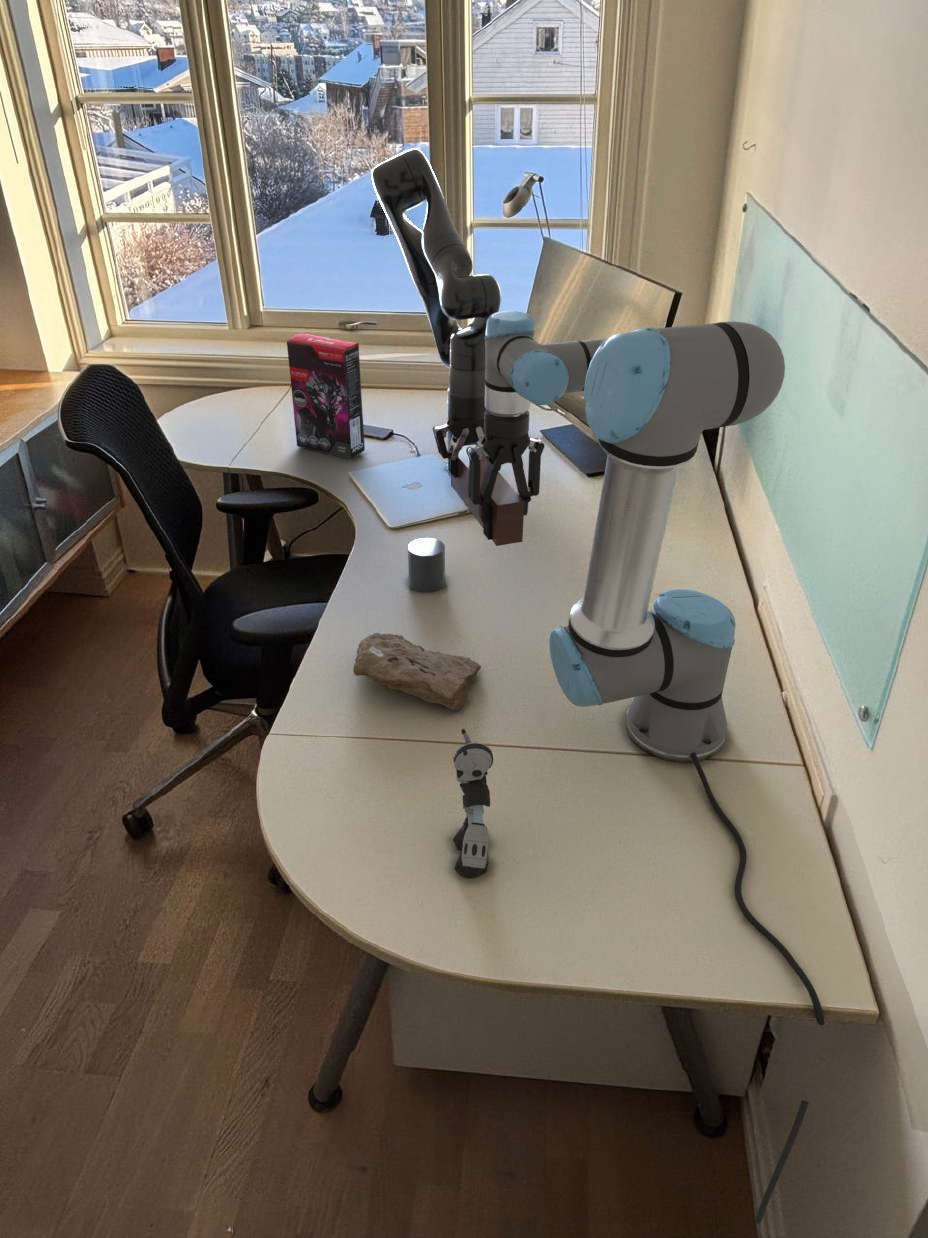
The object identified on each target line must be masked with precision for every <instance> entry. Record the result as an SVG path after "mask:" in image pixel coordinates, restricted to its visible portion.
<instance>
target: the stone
mask: <svg viewBox="0 0 928 1238" xmlns="http://www.w3.org/2000/svg"><path fill="white" fill-rule="evenodd" d="M356 650H357V651H356V653H357V654H356V658H355V663H354V665H353V670H352V672H353V675H355V676H356V677H358V676H363V677H364V676H365V677H368V678H370V679H371V680H373V682H374V683H375V684H376V685H380V686H387V687H388V689H393V690H395V691H397V690H398V691H402V692H403V693H407V694H408V695H412V696H414V697H416V698H417V697H418V699H419V698H420V699H421V700H423V701H425V702H428V703H431V704H439V705H442V706H444V707H445V708H447V709H449V710H452V711H455V712H456V711H458V710H461V709H462V707H464V705H465V703H466V700H467V698H468V693H469V689H470V688H471V686H472V684H473V682H474V680H475V678H476V677H477V674H478V672H479V671H480V670H481V669H482V668H481V667H482V666H481V665H480V663H478V662H476V661H475V660H474V659H473V660H472V659H471V658H470V657H465V656H462V655H453V654H449V653H447V654H446V653H443V652H441V651H433V650H425V649H424V648H423V646H422V645H420V644H419V645H416V644H414V643H412V642H411V641H410V640H407V639H406V638H405V637H404V636H403V635H399V634H393V633H380V632H375V633H373V634H370V635H368V636H367V637H365V638H363V639H362V640H360V642H359V644H358V647H357V649H356Z"/></svg>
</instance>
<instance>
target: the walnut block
mask: <svg viewBox="0 0 928 1238" xmlns="http://www.w3.org/2000/svg"><path fill="white" fill-rule="evenodd" d="M469 446H470V447H472V448H474V447H476V445H468V446H463V447H462V449H461V450H460V452H459V455H458V457H457V460H458V478H454V477H453V476H452V475H451V474H450V486H451V487H452V489H453V490H454V492H455V493H456V494H457V496H458V497H459V498H460V499H461V501H462V502H463V504H464V505H465V506H466V507H467V509H468V510H469V512H470V513H471V514H472V516H473V517H474V518H475V519H476V521H477V522H478V524H479V525H480V526H481V528H482V529H483V522H482V521H481V520H480V518H479V504H477V505H474V504H473V502H472V501H471V500H470V498H469V496H468V494H469V457H468V454H467V452H466V449H467V447H469ZM480 464H481V472H480V489H481V486H482V482H483V478H484V475H485V471H486V467H487V458H486V457H485V455H484V454H483V453H482V459H481V460H480ZM490 503H491V505H492V506H493V526H492V540H491V541H492V543H493V544H494V545H495V546H496V547H499V546H505V545H511V544H518V543H523V541H524V540H523V539H524V517H525V516H524V500H523V499H522V498H521V497H520V496H519V493H518V491H516V490H515V489H514V488H513V486H512V485H511V484H510V483H509V481H508V480H506V479H505V477H504V476H503V475H502V474H501V473H500V471H498V474H497V478H496V481H495V485H494V489H493V492H492V496H491V499H490Z"/></svg>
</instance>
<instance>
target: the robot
mask: <svg viewBox="0 0 928 1238" xmlns="http://www.w3.org/2000/svg"><path fill="white" fill-rule="evenodd" d="M461 734H462V737H463V739H464V742H465V744H463V745H461V746H460V747H459V748H458V749H457V750H456V751H455V753H454V756H453V757H452V760H453V768H455V772H456V774H455V775H456V781H457V782H458V783H459V786H460V789H461V791H462V793H463V794H462V809H464V812H465V814H466V817H465V818H464V821H463V823H462V826H461V827H460V829H459V830H458V831H457V833H456V834H455V835H454V837H453V838H452V841H453V843H454V846H455V847H456V849H457V850H459V851H460V853H459V855H458V858H457V859H456V863H455V865H454V870H455V871H456V872H457V873H458V874H459V875H460V876H461V877H464V878H468V879H472V878H477V877H479V876H481V875H483V874H486V873H487V872H488V867H489V863H490V862H489V848H490V834H489V831H488V826H486V824H485V823H484V818H483V817H484V816H483V815H484V813H485V812H484V810H485V809H484V806H485V807H487V808H491V792H490V788H489V785H488V784H487V775H488V771H489V769H491V768H492V766H493V764H494V755H493V751H492V750H491V749H490V747H488V746H487V745H486V744H484V743H482V742H479V741H476V740H475V741H472V740H471V738H470V736H469V735H468V733H467V730H466V729H465V728H462V729H461Z"/></svg>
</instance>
